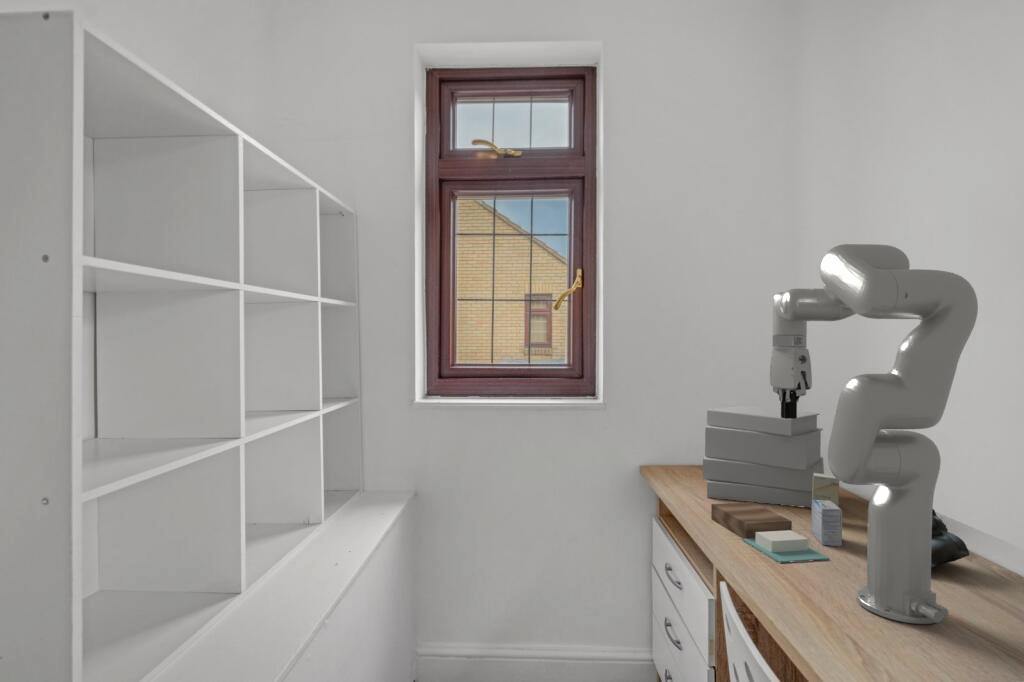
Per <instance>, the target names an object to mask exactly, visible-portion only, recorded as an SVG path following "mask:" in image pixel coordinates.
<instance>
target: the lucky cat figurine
mask: <svg viewBox="0 0 1024 682" xmlns="http://www.w3.org/2000/svg"><path fill="white" fill-rule="evenodd" d="M969 556H970V551H969V548H968V547H967V544H966V543H965V542H964V540H963V539H962V538H961V537H959V536H958V535H957V534H954V533H952V532H950V531H949V532H948V527H947V525H946V524H945V523H944V522H943V520H942V519H941V518H940V517H938V516H937V514H936V510H935V509H934V508H933V510H932V543H931V569H932V568H934V567H937V566H940V565H943V564H947V563H952V562H956V561H957V560H961V559H963V558H966V557H969Z"/></svg>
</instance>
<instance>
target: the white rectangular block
mask: <svg viewBox="0 0 1024 682" xmlns="http://www.w3.org/2000/svg"><path fill="white" fill-rule="evenodd" d="M808 541H809V539H808V538H807V537H805V536H803V535H801V534H798V533H797V532H795V531H793V530H792V531H791V530H786V531H768V532H756V540H755V543H756V544H758V545H760V546H762V547H763V548H765V549H767V550H768V551H770V552H786V551H802V550H808V547H809V545H808V544H809V542H808Z"/></svg>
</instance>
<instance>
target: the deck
mask: <svg viewBox="0 0 1024 682" xmlns="http://www.w3.org/2000/svg"><path fill="white" fill-rule="evenodd" d="M710 508H711V521H713V522H715V523H717V524H719V525H720V526H721V527H724V528H725V529H727V530H729V531H730V532H732V533H734V534H736V536H738V537H740V538H742V539H746V538H756V532H768V531H786V530H791V531H793V528H792V527H793V526H792V525H793V520H791V519H788V518H786V517H785V516H783V515H780V514H779V513H777V512H774V511H772V510H770V509H768V508H766V507H764V506H761V505H759V503H754V502H729V503H728V502H727V503H726V502H725V503H711V507H710Z"/></svg>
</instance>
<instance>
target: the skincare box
mask: <svg viewBox="0 0 1024 682" xmlns="http://www.w3.org/2000/svg"><path fill="white" fill-rule="evenodd" d="M839 493H840V480H838V479H837V478H836V477H835V476H834V475H833V474H828V473H824V474H820V473H813V489H812V500H826V501H831V502H833V503H834V504H835V505H836V506H837V507H839V500H840V499H839V498H840V496H839V495H840V494H839ZM811 521H812V518H811Z"/></svg>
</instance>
